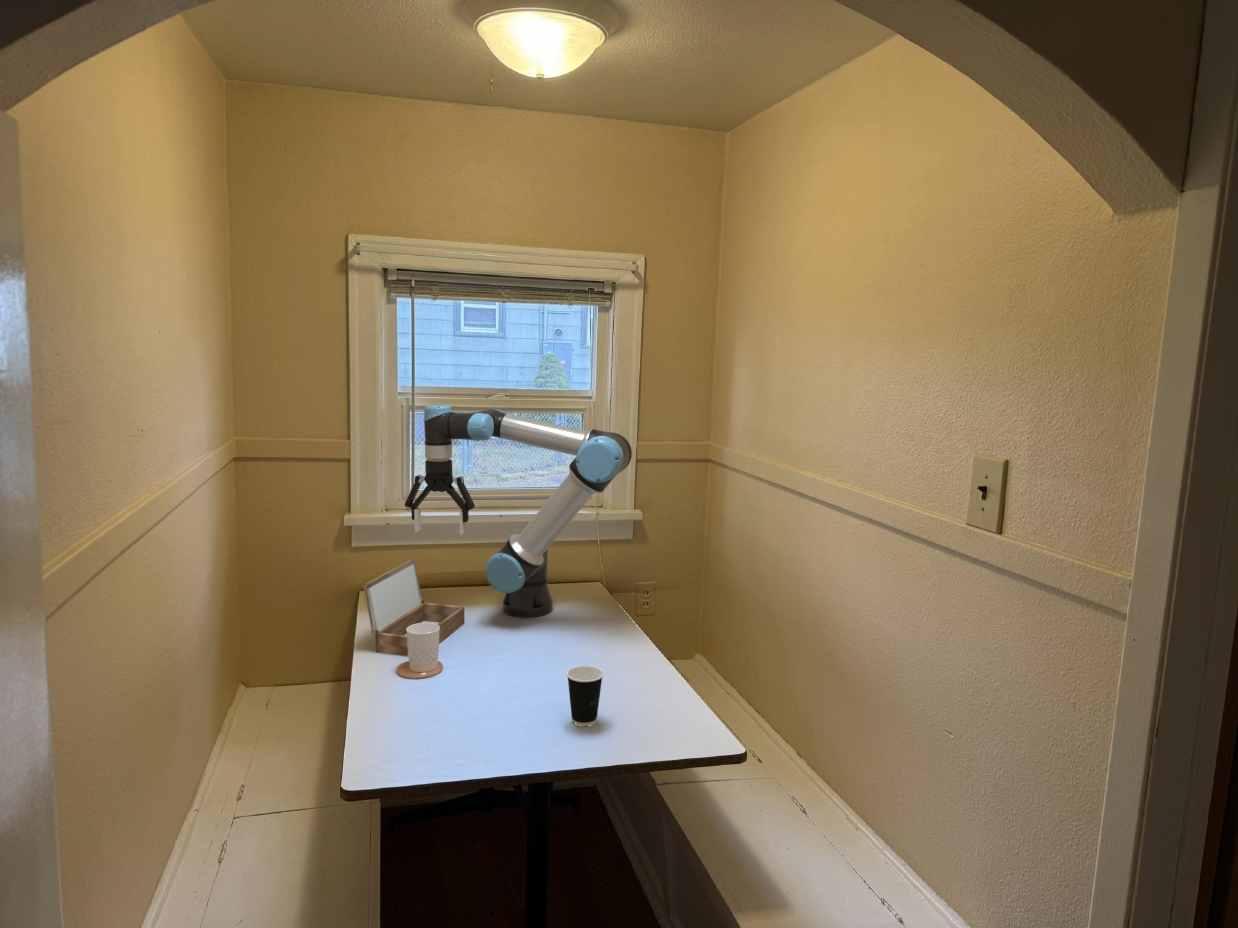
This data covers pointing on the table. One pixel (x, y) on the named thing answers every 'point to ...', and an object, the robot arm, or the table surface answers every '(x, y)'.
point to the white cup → (423, 646)
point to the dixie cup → (584, 693)
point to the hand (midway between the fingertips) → (440, 532)
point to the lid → (392, 595)
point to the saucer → (405, 672)
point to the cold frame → (394, 633)
